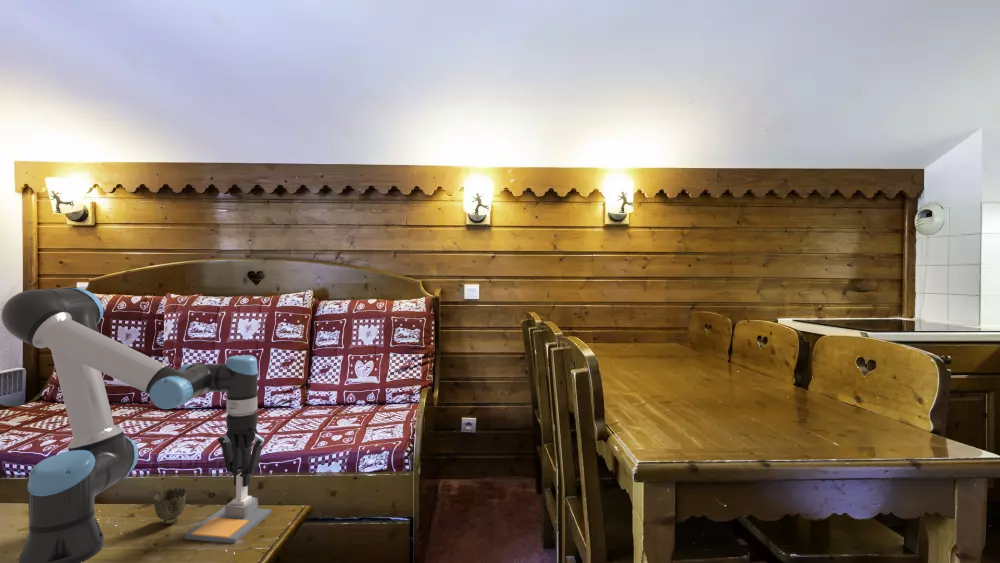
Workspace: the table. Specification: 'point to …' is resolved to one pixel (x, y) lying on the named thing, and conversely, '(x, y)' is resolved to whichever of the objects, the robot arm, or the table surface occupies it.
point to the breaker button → (242, 501)
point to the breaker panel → (229, 523)
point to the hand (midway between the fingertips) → (241, 497)
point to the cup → (170, 504)
